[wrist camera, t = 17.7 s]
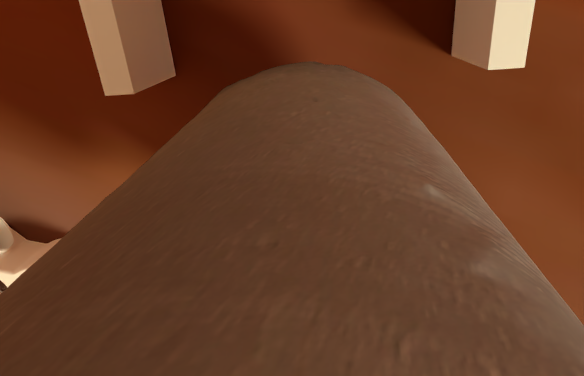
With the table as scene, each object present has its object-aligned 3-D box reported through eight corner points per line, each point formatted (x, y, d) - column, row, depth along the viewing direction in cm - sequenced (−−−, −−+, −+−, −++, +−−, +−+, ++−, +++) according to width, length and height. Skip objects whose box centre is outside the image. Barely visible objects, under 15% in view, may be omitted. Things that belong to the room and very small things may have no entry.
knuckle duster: (-12, 150, 22) (185, 302, 26) (-117, 308, 29) (53, 412, 32) (-66, 173, 19) (165, 342, 23) (-170, 344, 26) (24, 455, 29)
